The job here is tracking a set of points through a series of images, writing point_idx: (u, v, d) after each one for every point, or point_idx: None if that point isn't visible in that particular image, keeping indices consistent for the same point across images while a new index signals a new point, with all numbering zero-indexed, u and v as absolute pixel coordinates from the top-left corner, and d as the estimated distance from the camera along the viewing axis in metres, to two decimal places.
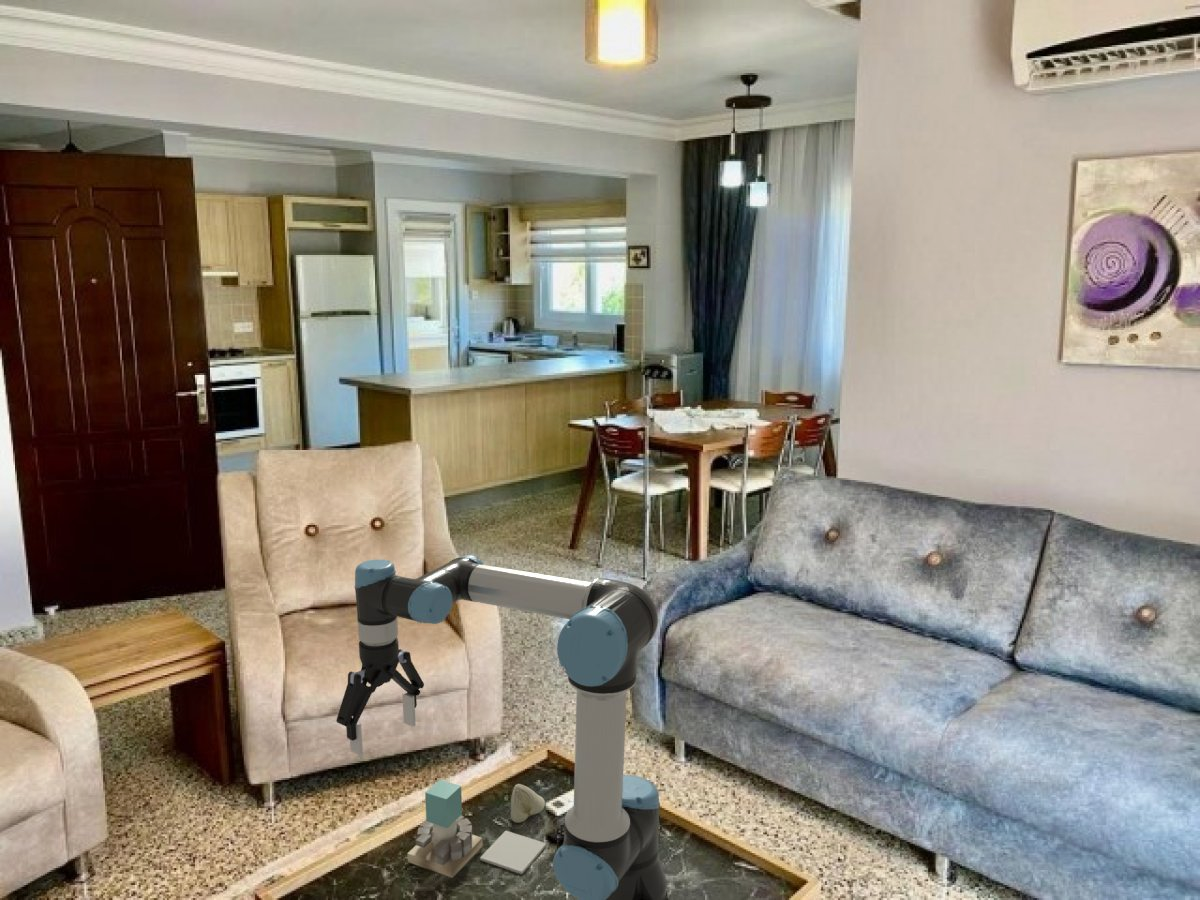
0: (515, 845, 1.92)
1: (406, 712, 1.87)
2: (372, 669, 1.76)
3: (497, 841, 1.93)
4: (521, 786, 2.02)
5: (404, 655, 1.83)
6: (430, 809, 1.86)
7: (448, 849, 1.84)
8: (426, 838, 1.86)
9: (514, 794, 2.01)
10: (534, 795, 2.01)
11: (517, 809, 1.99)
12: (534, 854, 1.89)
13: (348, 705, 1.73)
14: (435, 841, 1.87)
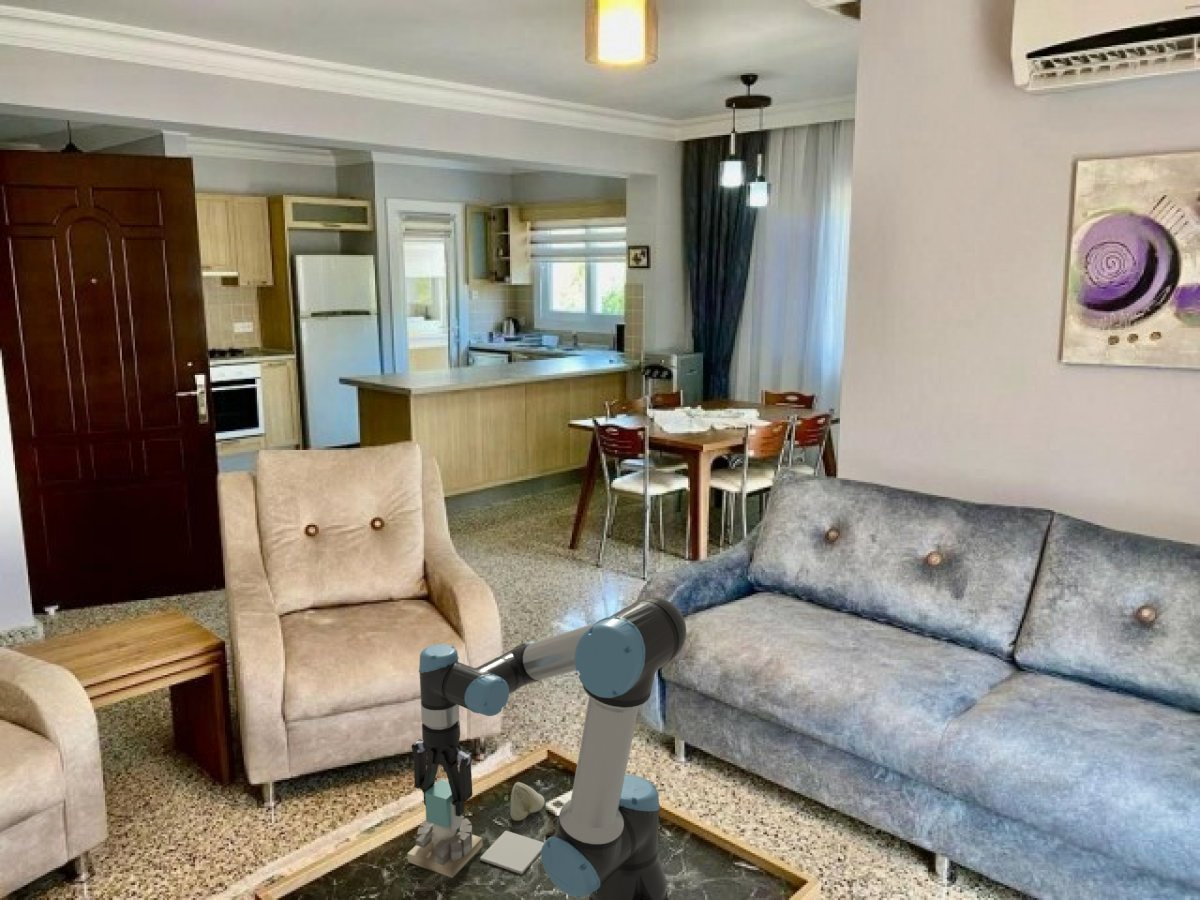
0: (515, 845, 1.92)
1: None
2: (425, 742, 1.85)
3: (497, 841, 1.93)
4: (521, 784, 2.02)
5: None
6: (430, 809, 1.86)
7: (448, 849, 1.84)
8: (426, 838, 1.86)
9: (514, 792, 2.02)
10: (534, 793, 2.02)
11: (517, 807, 2.00)
12: (534, 854, 1.89)
13: None
14: (435, 841, 1.87)
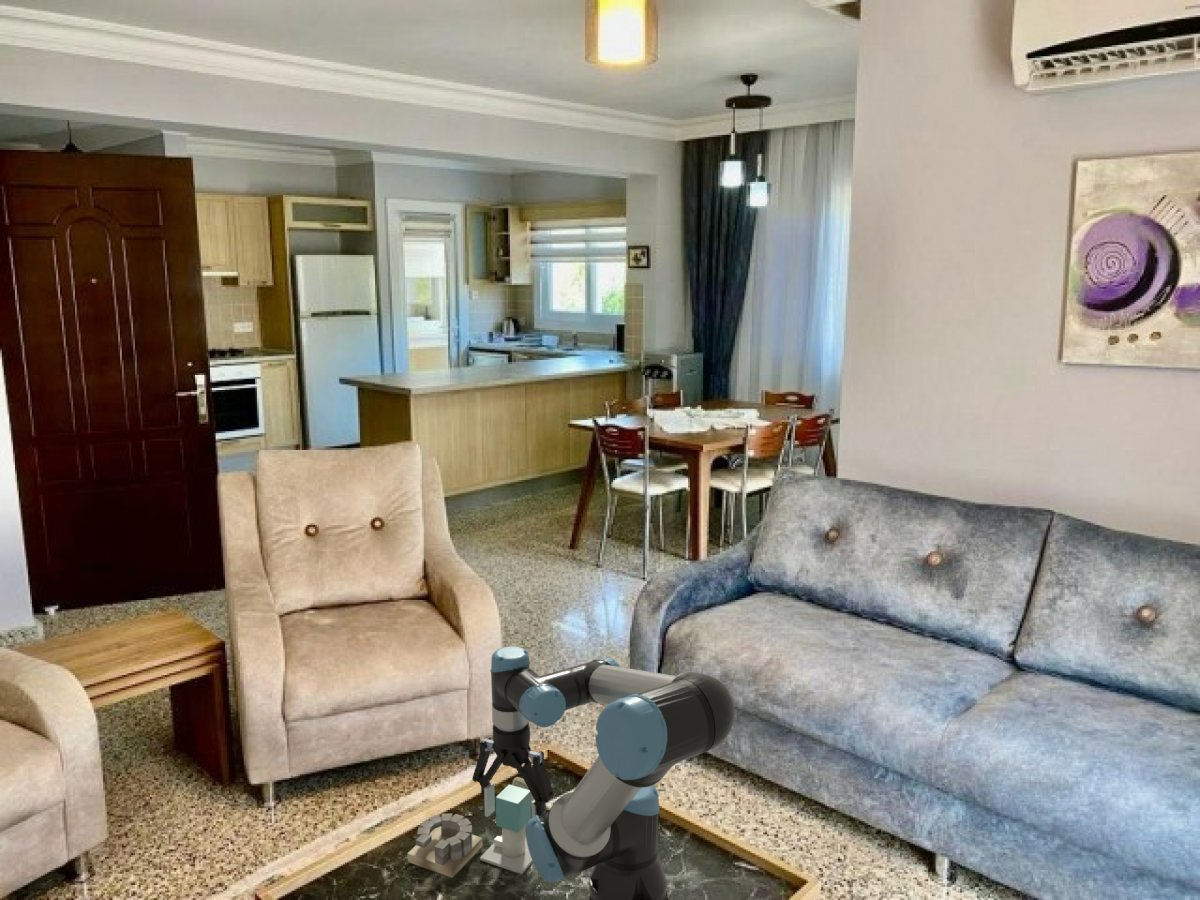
0: None
1: None
2: (496, 744, 1.85)
3: None
4: (520, 779, 2.04)
5: None
6: (501, 814, 1.86)
7: (448, 849, 1.84)
8: (426, 838, 1.86)
9: None
10: None
11: None
12: None
13: None
14: (504, 846, 1.88)
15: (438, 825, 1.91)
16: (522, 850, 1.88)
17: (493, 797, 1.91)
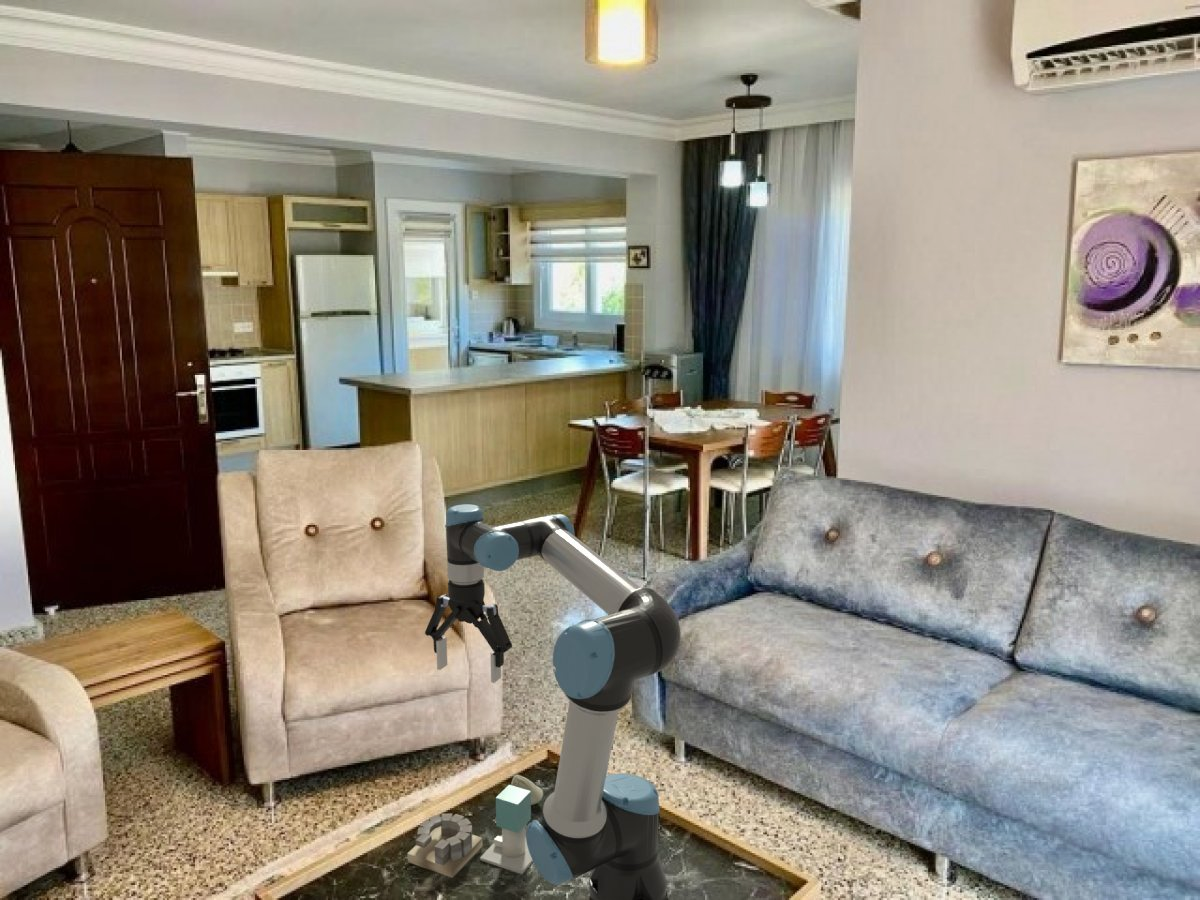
0: None
1: None
2: (452, 601, 1.91)
3: None
4: (520, 777, 2.05)
5: None
6: (501, 814, 1.86)
7: (448, 849, 1.84)
8: (426, 838, 1.86)
9: (513, 785, 2.04)
10: (532, 786, 2.05)
11: None
12: None
13: None
14: (504, 846, 1.88)
15: (438, 825, 1.91)
16: (522, 850, 1.88)
17: (445, 651, 1.97)
